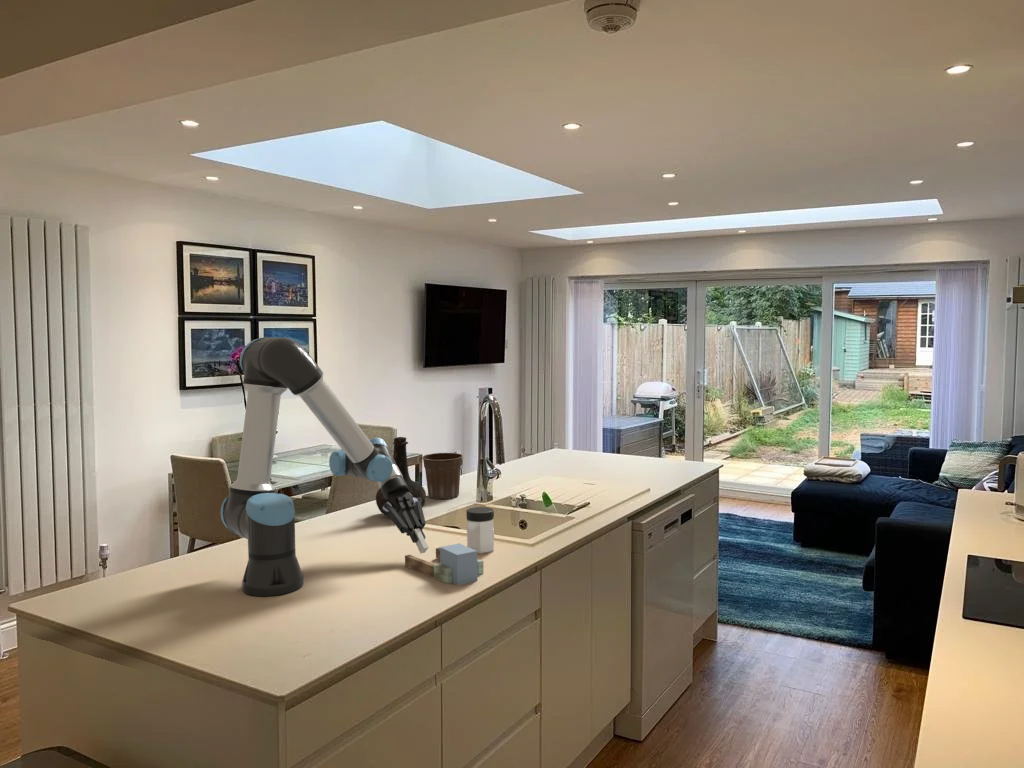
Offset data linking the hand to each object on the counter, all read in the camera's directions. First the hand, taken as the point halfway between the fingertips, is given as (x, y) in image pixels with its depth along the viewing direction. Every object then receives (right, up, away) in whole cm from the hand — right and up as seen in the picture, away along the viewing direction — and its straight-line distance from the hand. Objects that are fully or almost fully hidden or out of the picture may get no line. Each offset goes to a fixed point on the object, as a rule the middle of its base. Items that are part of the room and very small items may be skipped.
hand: (424, 550), depth 217 cm
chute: (+6, -4, -7) cm, 10 cm away
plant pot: (-2, +2, +86) cm, 87 cm away
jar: (+15, -3, +12) cm, 20 cm away
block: (+11, -4, -14) cm, 18 cm away
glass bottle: (-15, 0, +56) cm, 58 cm away
